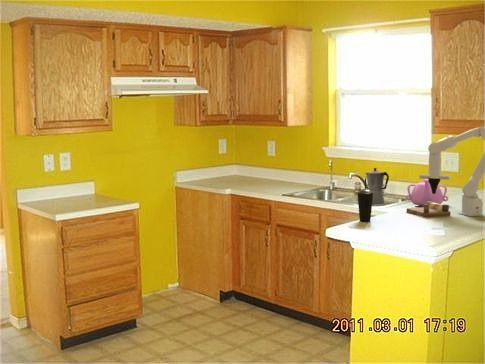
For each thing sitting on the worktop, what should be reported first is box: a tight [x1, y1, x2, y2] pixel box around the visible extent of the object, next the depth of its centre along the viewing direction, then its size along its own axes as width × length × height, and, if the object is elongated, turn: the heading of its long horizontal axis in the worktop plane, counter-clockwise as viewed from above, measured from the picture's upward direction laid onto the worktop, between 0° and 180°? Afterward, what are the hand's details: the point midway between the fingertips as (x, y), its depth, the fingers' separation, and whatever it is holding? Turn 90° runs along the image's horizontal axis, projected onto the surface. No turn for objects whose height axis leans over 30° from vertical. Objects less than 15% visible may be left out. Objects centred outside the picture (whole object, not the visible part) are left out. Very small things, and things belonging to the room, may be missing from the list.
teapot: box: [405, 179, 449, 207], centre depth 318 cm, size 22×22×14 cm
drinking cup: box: [356, 177, 374, 223], centre depth 274 cm, size 8×8×20 cm
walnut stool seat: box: [406, 204, 451, 218], centre depth 292 cm, size 16×14×6 cm
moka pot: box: [365, 167, 390, 206], centre depth 324 cm, size 10×15×20 cm, turn 45°
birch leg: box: [427, 201, 450, 211], centre depth 294 cm, size 15×3×3 cm, turn 19°
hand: (434, 193), depth 297 cm, fingers closed
